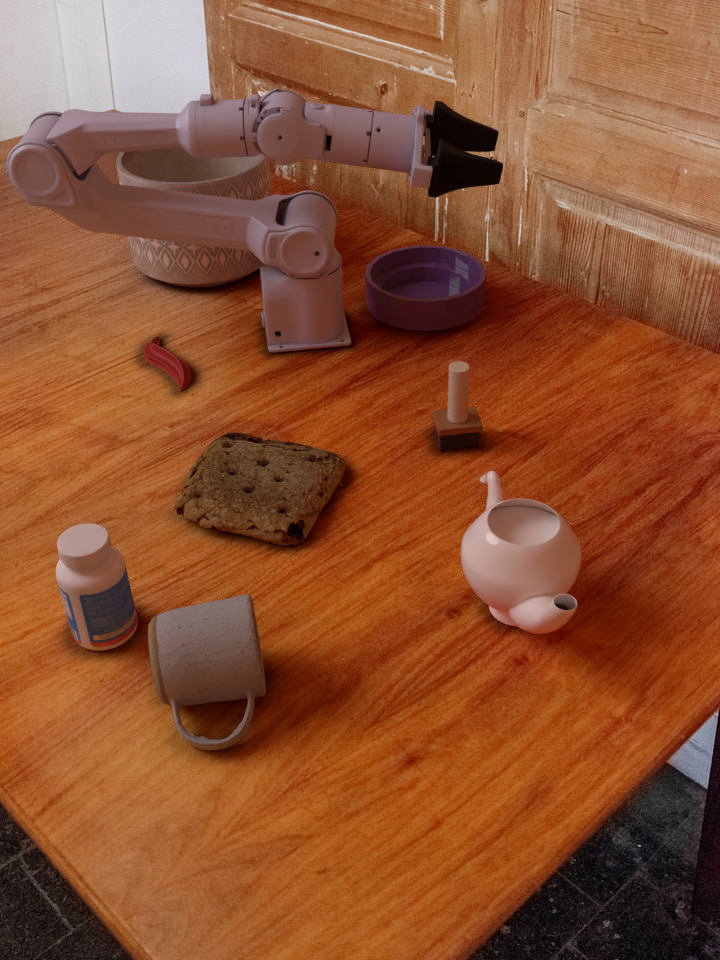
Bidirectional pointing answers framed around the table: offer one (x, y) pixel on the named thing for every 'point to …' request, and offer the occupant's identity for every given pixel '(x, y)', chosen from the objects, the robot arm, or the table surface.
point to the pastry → (260, 487)
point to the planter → (198, 177)
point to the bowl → (425, 287)
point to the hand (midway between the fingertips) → (498, 156)
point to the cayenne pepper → (168, 363)
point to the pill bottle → (95, 588)
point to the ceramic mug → (207, 660)
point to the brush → (458, 413)
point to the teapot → (522, 561)
